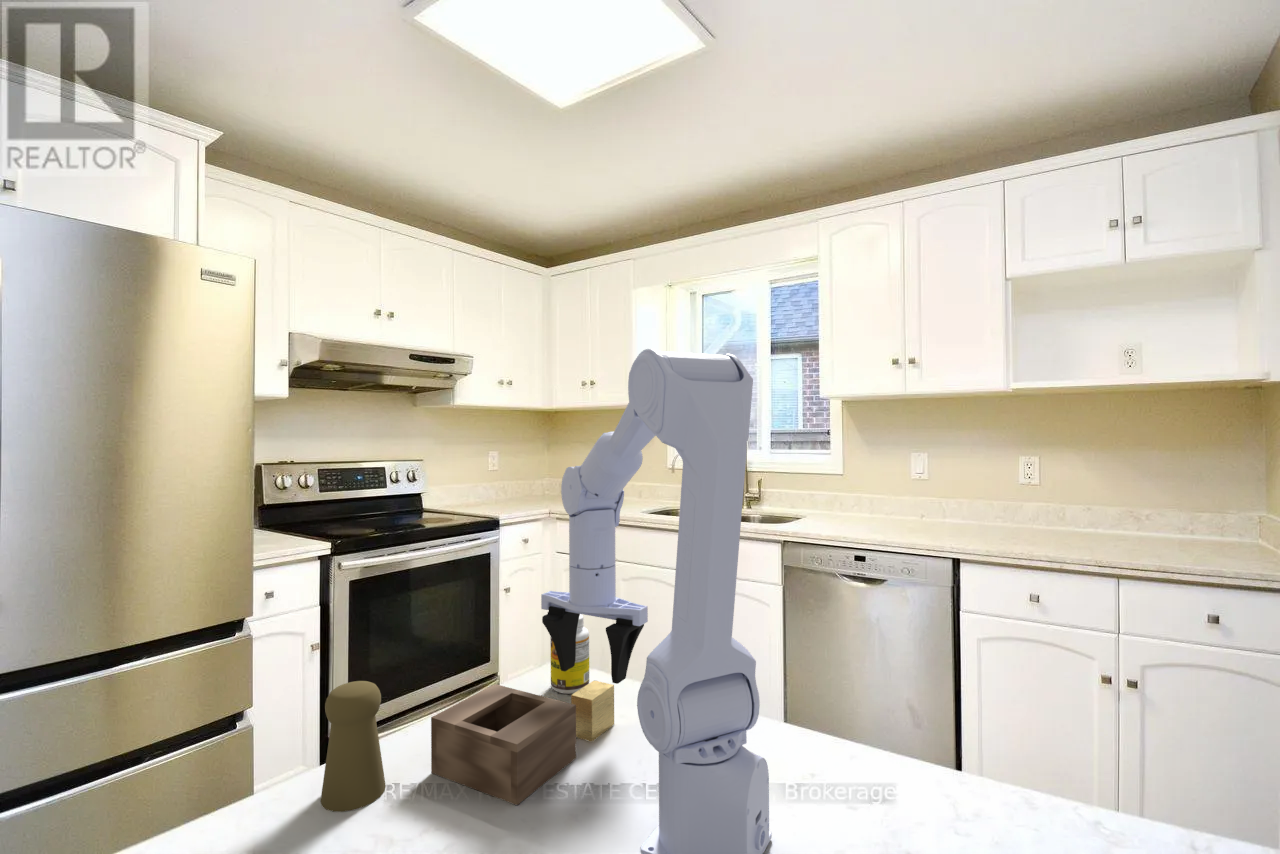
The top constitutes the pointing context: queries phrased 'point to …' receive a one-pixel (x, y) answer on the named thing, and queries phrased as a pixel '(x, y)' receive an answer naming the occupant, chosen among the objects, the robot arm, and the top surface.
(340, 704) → the cork
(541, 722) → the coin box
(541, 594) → the robot arm
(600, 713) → the block
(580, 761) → the top surface
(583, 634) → the supplement bottle
